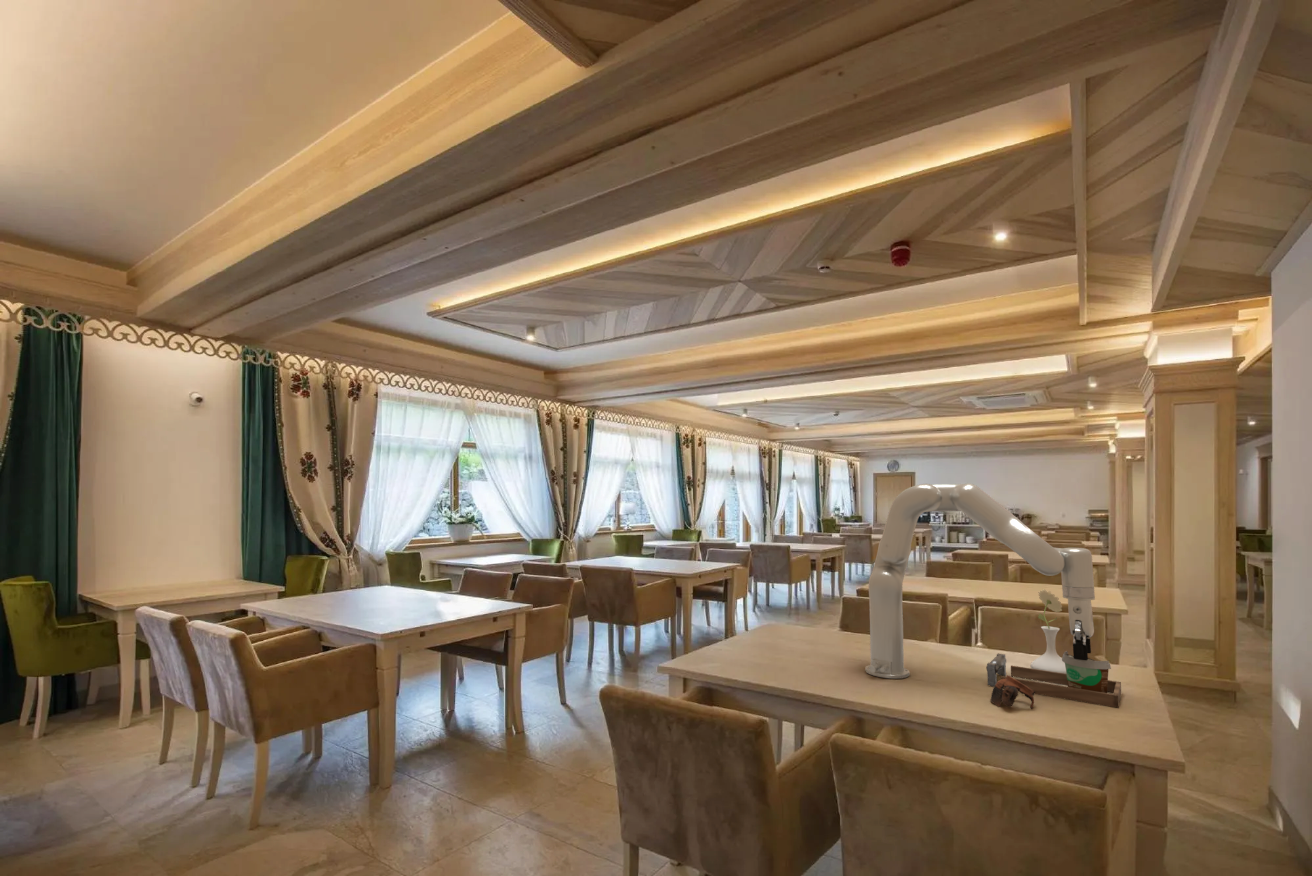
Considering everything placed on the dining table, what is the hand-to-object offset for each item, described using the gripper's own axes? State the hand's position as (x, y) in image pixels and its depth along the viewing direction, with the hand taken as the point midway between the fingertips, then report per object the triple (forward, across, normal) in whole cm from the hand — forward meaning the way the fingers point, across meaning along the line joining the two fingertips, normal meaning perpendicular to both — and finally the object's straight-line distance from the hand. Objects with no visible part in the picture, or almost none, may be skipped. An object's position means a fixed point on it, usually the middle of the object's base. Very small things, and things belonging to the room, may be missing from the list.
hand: (1082, 656), depth 180 cm
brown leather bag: (+10, -24, +14) cm, 30 cm away
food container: (+10, 0, +1) cm, 11 cm away
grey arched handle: (+10, +1, +22) cm, 24 cm away
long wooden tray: (+10, 0, +6) cm, 12 cm away
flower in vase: (+10, +19, +10) cm, 24 cm away
